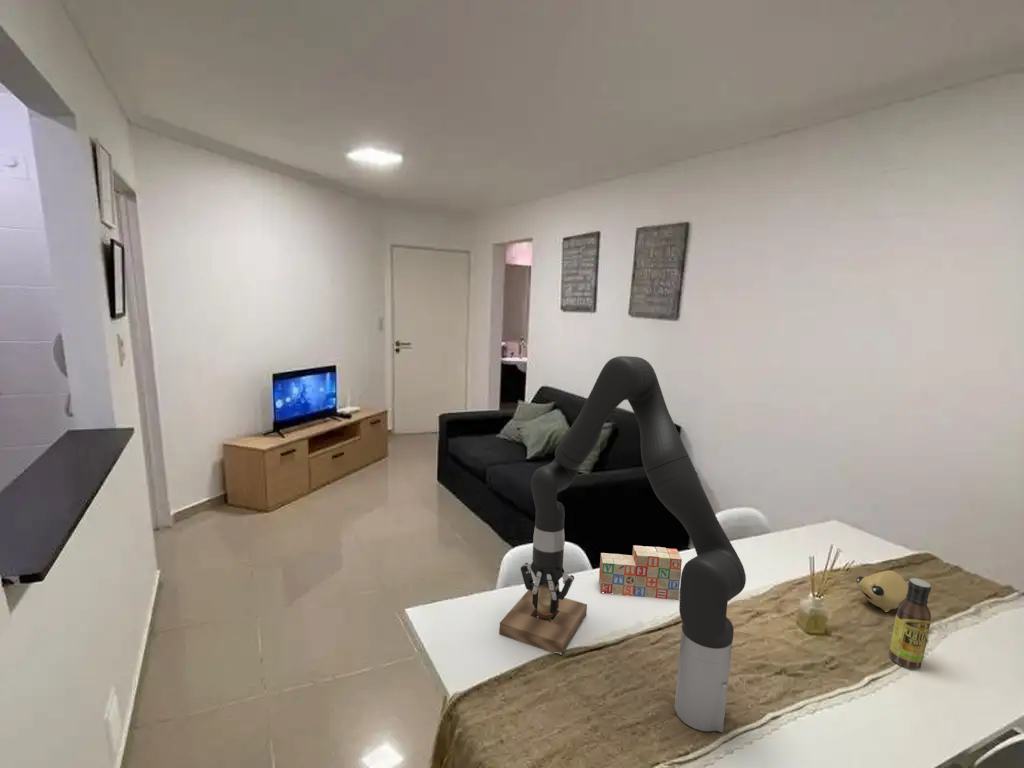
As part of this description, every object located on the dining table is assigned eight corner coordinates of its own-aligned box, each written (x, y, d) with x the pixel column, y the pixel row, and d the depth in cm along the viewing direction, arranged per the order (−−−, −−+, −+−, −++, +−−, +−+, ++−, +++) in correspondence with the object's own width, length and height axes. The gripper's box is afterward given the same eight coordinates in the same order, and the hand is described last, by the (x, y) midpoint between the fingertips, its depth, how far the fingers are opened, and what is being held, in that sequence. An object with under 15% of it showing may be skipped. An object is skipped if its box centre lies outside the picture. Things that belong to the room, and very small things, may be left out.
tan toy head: (846, 598, 147) (851, 563, 146) (883, 596, 149) (888, 561, 147) (875, 618, 138) (880, 581, 136) (914, 616, 139) (920, 579, 138)
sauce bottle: (899, 669, 118) (912, 588, 115) (882, 651, 124) (894, 573, 121) (929, 672, 117) (943, 590, 114) (910, 654, 123) (923, 576, 120)
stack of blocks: (600, 594, 145) (602, 552, 143) (598, 582, 151) (601, 542, 149) (678, 600, 143) (682, 558, 141) (673, 588, 149) (677, 548, 147)
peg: (555, 620, 131) (557, 583, 129) (549, 629, 127) (551, 591, 125) (540, 615, 132) (542, 579, 131) (533, 624, 129) (535, 586, 127)
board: (586, 615, 134) (587, 604, 134) (561, 655, 118) (562, 643, 118) (529, 598, 141) (530, 587, 141) (499, 634, 125) (499, 622, 125)
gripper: (515, 543, 126) (513, 608, 129) (570, 557, 120) (566, 625, 123) (528, 531, 133) (525, 594, 135) (581, 544, 127) (577, 609, 129)
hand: (545, 608), depth 129 cm, fingers closed on peg, 3 cm apart
